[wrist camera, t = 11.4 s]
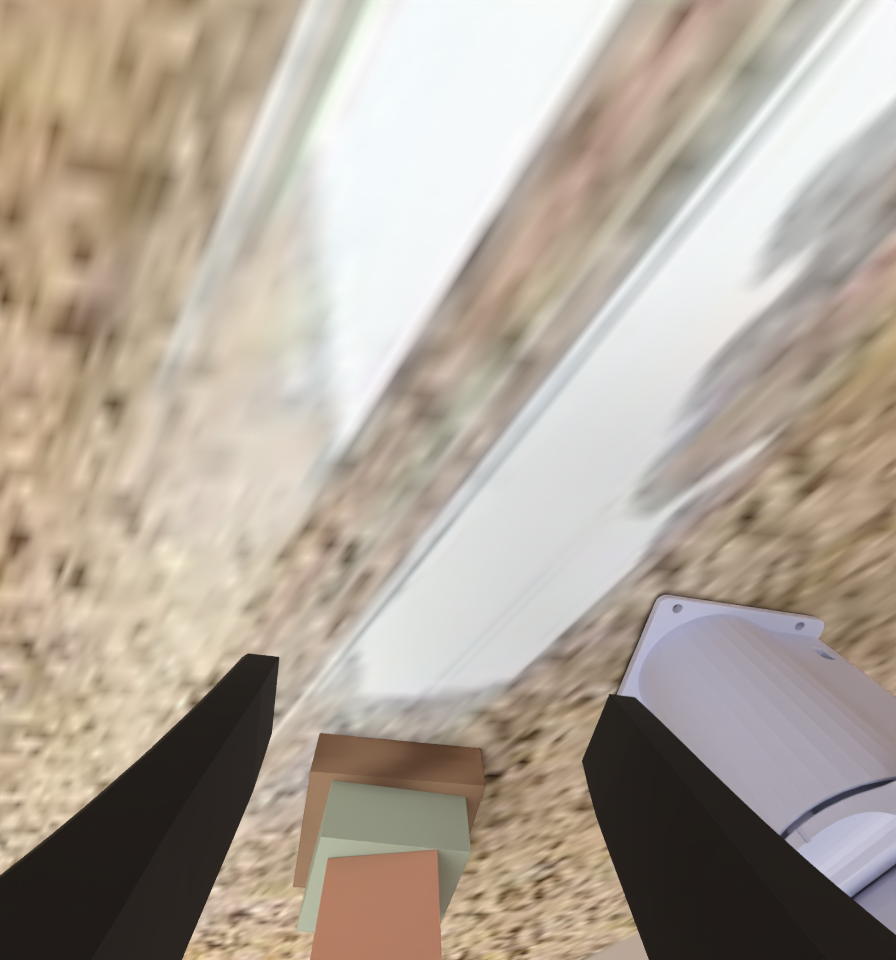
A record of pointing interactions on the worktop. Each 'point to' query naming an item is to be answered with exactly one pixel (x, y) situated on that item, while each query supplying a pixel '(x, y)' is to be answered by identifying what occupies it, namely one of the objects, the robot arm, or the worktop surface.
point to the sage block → (388, 835)
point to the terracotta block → (380, 908)
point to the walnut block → (385, 777)
